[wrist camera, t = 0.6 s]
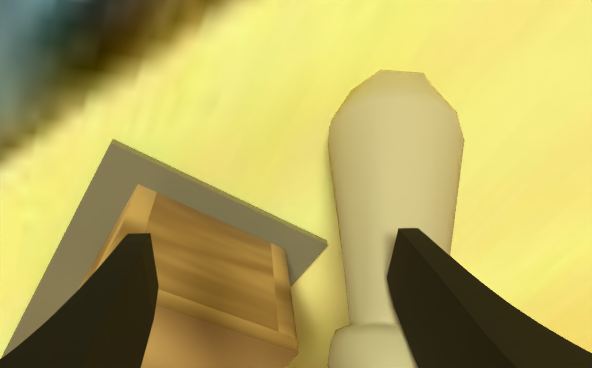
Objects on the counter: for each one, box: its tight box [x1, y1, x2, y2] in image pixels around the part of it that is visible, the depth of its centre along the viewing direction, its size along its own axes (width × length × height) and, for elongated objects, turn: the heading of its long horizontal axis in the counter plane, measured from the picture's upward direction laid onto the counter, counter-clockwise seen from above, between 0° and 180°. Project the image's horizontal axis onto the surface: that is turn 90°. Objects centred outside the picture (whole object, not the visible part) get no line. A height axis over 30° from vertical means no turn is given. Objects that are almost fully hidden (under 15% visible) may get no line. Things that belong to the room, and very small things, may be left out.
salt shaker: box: [328, 70, 464, 368], centre depth 17 cm, size 6×6×13 cm
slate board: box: [2, 139, 327, 358], centre depth 29 cm, size 31×13×1 cm, turn 146°
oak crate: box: [78, 184, 298, 368], centre depth 23 cm, size 11×9×7 cm
